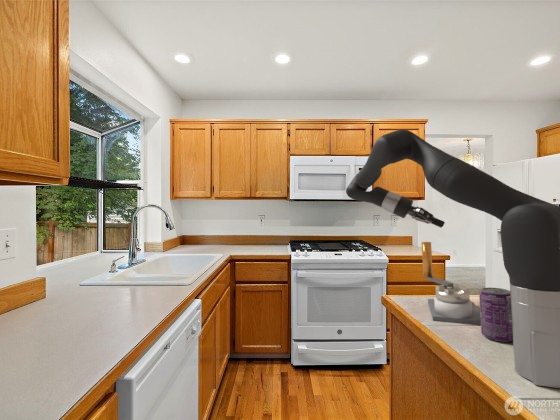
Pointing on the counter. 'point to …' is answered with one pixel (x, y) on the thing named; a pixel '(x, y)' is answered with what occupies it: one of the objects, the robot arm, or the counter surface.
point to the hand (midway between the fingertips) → (443, 225)
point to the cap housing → (454, 312)
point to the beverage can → (496, 314)
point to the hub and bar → (442, 293)
